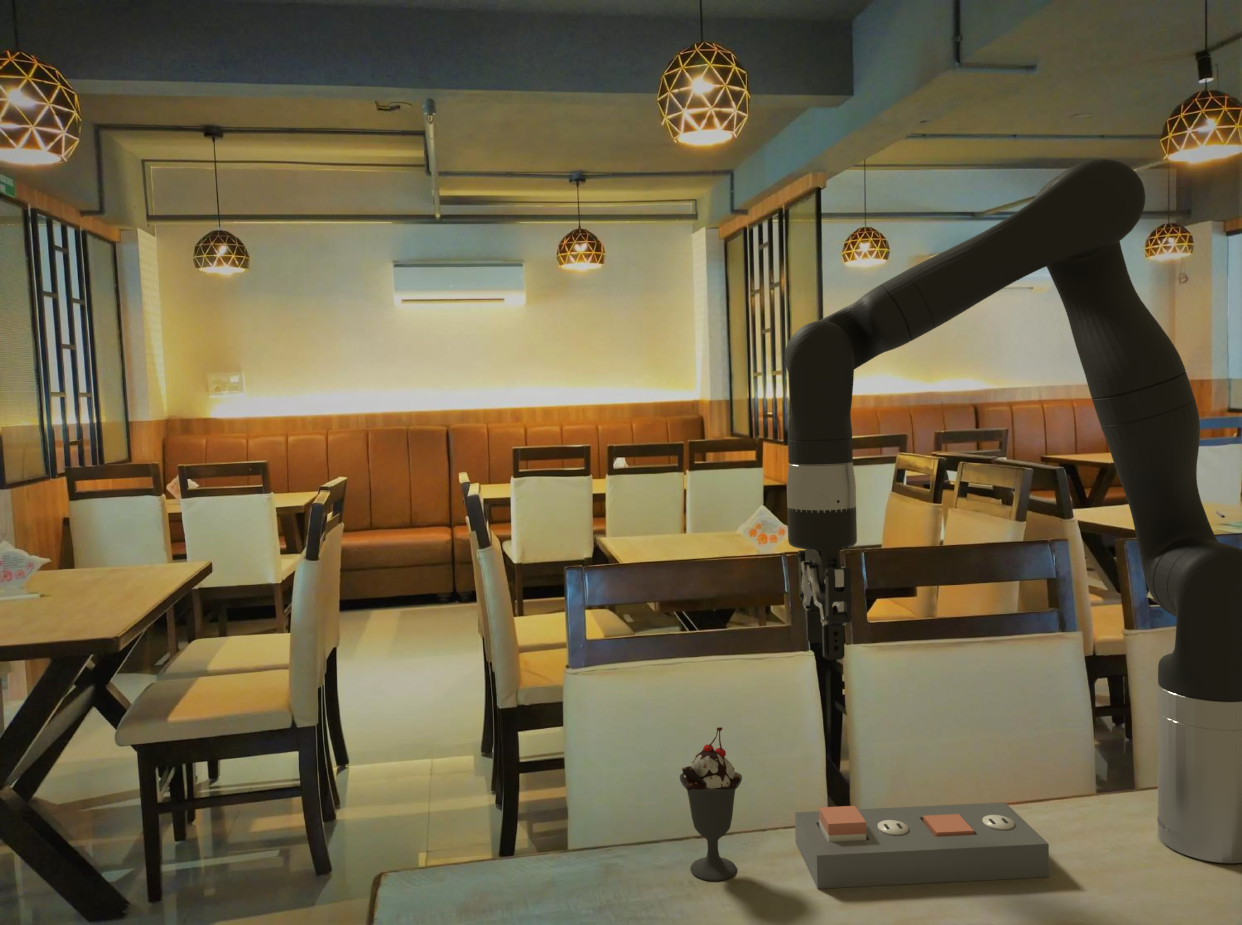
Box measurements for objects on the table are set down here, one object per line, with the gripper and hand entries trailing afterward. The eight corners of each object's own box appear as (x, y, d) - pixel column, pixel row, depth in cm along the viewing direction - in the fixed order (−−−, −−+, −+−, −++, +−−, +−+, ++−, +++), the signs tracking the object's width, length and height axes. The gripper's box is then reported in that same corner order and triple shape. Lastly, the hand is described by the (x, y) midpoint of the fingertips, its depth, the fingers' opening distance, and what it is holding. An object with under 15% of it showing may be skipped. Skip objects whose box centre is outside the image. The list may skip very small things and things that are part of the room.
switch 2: (959, 836, 101) (958, 814, 101) (974, 853, 97) (974, 830, 97) (923, 837, 101) (923, 815, 101) (937, 855, 97) (936, 832, 97)
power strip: (1005, 832, 105) (1004, 799, 105) (1048, 876, 95) (1048, 840, 95) (795, 842, 104) (794, 809, 104) (817, 888, 94) (816, 852, 94)
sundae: (743, 854, 102) (739, 721, 101) (745, 886, 95) (741, 743, 94) (683, 853, 102) (679, 721, 101) (681, 885, 96) (677, 743, 95)
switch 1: (855, 827, 101) (855, 805, 101) (866, 845, 97) (866, 822, 97) (819, 829, 101) (818, 807, 101) (828, 847, 97) (828, 824, 97)
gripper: (874, 509, 96) (878, 666, 97) (837, 495, 110) (840, 633, 111) (803, 512, 95) (807, 669, 96) (774, 498, 110) (778, 635, 111)
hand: (824, 649), depth 104 cm, fingers open, 7 cm apart
